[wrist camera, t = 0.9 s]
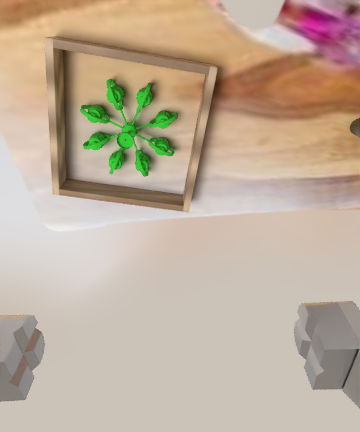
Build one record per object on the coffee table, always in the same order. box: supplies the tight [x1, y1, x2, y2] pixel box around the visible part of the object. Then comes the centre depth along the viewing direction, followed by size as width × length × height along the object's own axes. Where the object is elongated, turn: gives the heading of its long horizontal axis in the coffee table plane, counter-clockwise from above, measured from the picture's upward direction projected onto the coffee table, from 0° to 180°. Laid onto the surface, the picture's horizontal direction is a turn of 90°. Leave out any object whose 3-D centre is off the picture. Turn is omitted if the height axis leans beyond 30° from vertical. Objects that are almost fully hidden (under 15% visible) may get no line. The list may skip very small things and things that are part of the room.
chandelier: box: [80, 79, 177, 177], centre depth 46 cm, size 15×15×7 cm
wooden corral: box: [44, 37, 218, 212], centre depth 47 cm, size 22×22×4 cm
